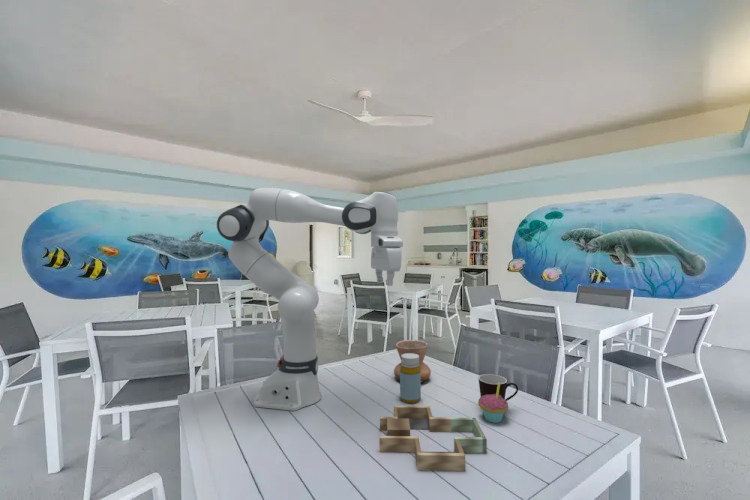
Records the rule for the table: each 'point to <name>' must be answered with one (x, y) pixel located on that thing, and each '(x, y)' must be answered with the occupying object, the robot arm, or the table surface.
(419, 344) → the ceramic jug
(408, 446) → the box
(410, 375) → the bottle
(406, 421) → the block
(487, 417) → the cupcake
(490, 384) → the coffee mug
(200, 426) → the table surface
